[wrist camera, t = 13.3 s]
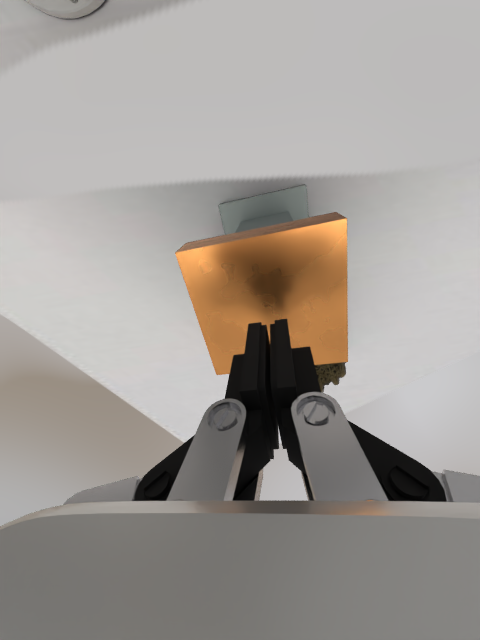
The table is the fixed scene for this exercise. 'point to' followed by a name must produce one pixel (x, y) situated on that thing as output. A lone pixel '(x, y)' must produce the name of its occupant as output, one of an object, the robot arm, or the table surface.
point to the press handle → (272, 286)
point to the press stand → (264, 210)
